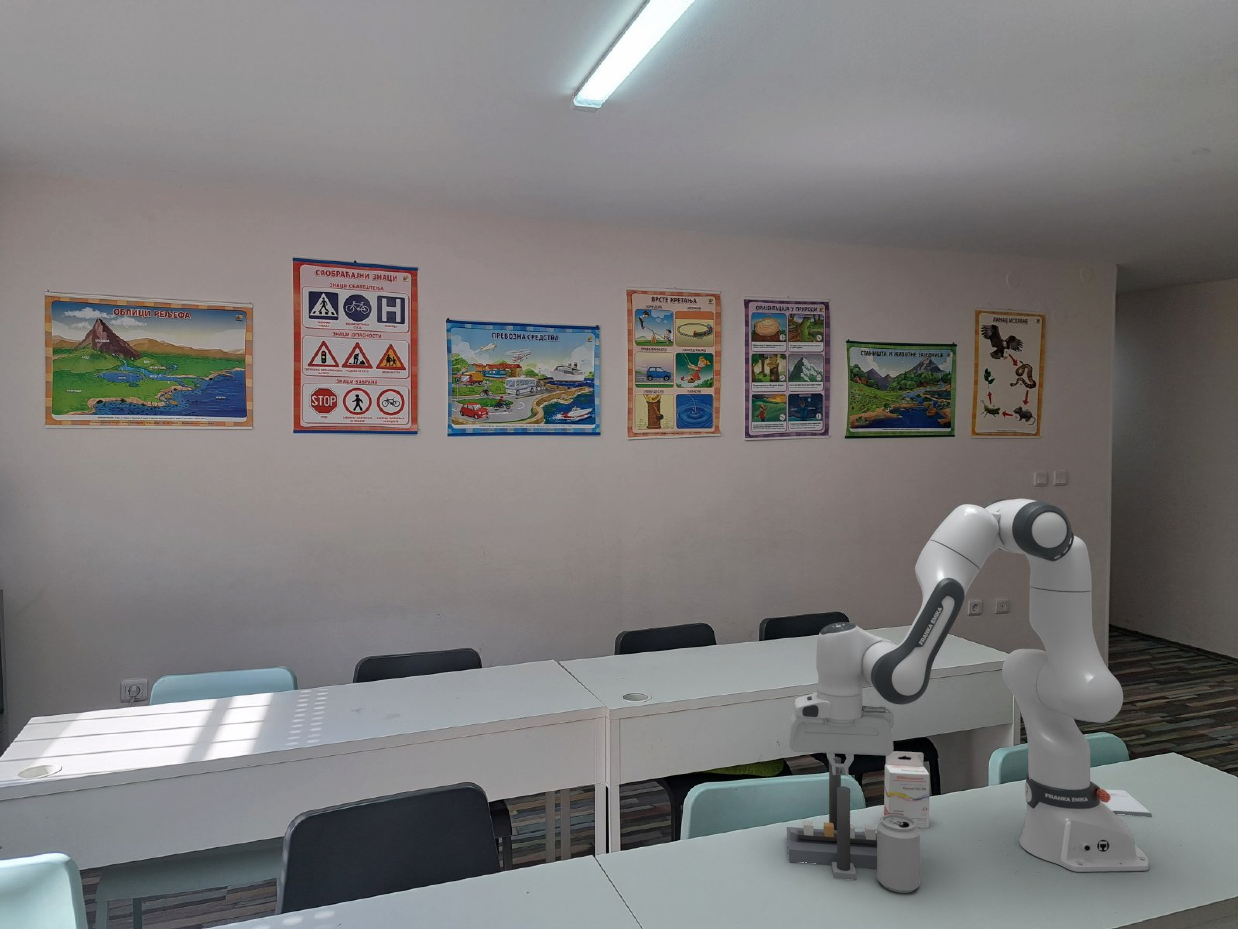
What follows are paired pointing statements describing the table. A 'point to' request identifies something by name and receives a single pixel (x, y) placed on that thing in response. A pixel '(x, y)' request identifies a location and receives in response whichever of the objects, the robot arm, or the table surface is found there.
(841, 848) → the post
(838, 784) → the disc
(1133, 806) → the external hard drive
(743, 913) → the table surface
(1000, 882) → the table surface
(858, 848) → the breaker panel
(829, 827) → the breaker paddles
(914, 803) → the ink cartridge box
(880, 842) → the can
